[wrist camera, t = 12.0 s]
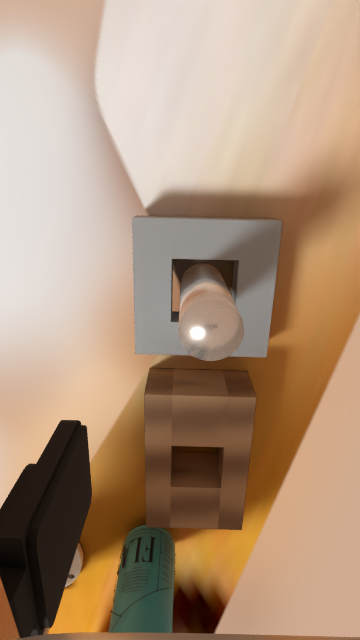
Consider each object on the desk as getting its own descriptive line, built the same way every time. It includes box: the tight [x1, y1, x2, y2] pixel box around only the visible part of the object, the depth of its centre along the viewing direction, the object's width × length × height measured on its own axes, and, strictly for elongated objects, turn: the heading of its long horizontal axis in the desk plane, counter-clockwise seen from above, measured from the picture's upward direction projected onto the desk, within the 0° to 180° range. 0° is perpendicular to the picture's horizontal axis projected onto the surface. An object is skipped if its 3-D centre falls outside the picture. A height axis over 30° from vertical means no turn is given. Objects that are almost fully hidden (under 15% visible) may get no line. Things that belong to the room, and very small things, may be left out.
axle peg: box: [179, 263, 244, 361], centre depth 27 cm, size 4×4×12 cm
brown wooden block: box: [144, 368, 257, 530], centre depth 36 cm, size 16×10×5 cm, turn 179°
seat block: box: [132, 216, 283, 357], centre depth 31 cm, size 12×12×3 cm
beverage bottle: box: [107, 525, 176, 633], centre depth 34 cm, size 6×7×20 cm
